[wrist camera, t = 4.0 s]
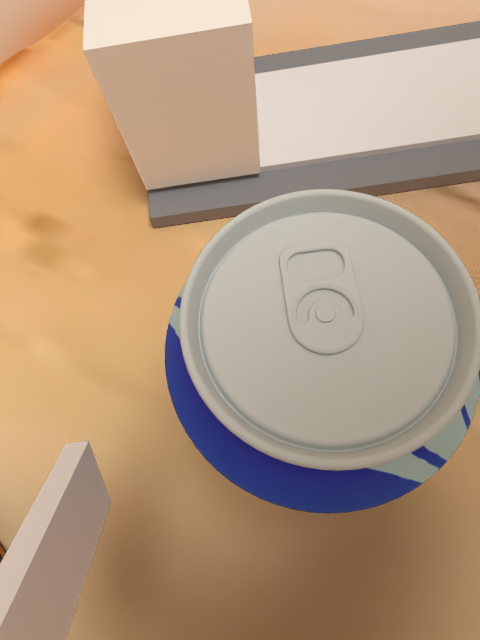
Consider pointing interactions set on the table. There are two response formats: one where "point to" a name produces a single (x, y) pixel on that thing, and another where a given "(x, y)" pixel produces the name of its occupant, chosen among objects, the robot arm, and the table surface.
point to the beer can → (326, 351)
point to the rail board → (279, 107)
